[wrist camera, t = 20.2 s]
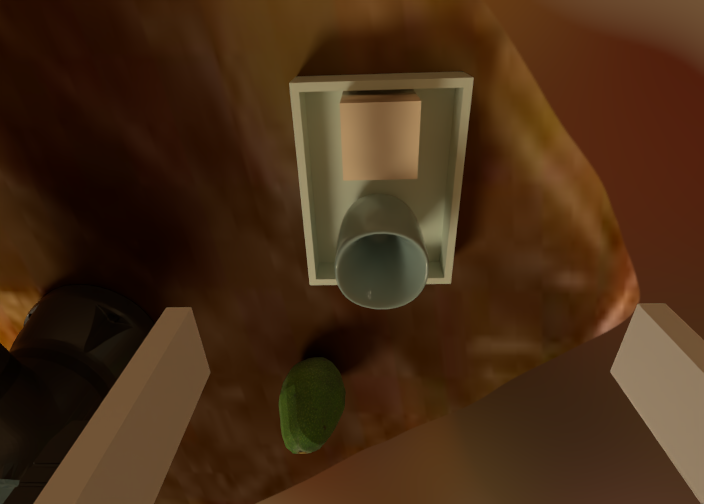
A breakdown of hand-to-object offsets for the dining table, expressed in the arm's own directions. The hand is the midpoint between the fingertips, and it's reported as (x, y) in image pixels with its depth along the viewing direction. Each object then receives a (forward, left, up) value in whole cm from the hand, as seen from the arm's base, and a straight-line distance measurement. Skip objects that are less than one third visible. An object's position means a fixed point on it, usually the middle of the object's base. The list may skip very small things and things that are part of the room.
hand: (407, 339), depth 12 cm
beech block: (0, 0, -28) cm, 28 cm away
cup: (0, -9, -28) cm, 30 cm away
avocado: (-8, -31, -29) cm, 43 cm away
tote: (0, -6, -29) cm, 29 cm away
